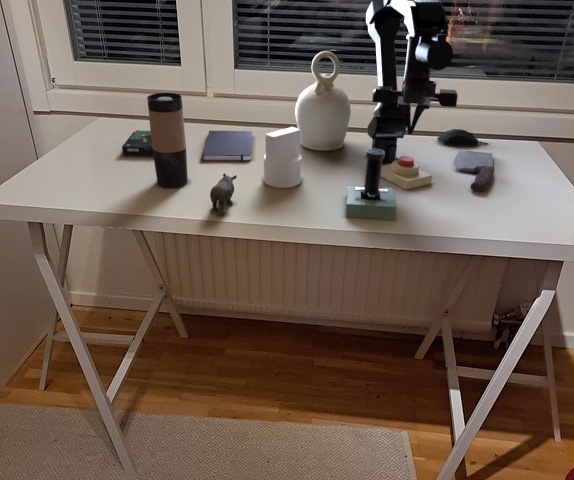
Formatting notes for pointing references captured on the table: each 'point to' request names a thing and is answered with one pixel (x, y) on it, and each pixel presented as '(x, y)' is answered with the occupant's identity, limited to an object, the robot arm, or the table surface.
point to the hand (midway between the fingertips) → (410, 134)
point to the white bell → (323, 110)
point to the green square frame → (370, 204)
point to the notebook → (228, 146)
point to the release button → (406, 161)
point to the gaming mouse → (458, 138)
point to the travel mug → (168, 139)
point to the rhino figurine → (222, 193)
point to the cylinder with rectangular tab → (282, 158)
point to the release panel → (405, 175)
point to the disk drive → (138, 144)
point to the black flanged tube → (373, 174)
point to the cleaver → (476, 167)
